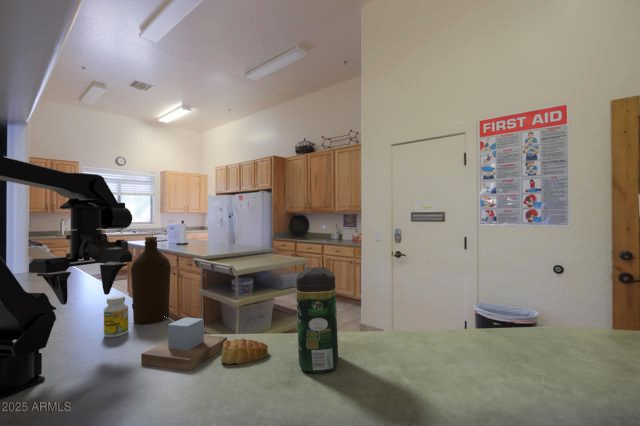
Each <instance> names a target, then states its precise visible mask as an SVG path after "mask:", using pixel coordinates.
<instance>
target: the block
mask: <svg viewBox="0 0 640 426" xmlns="http://www.w3.org/2000/svg"><path fill="white" fill-rule="evenodd" d="M204 323H205V322H204V318H198V317H197V318H195V317H186V316H185V317H183V318H181V319H178V320H175V321H173V322H171V323H168V324H167V341H168V349H177V350H185V351H188V350H190V349H192V348H194V347H195V346H197V345H199V344H201V343H202V342H204V335H205V331H204V330H205V329H204V328H205V327H204V325H205V324H204Z"/></svg>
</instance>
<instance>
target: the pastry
mask: <svg viewBox="0 0 640 426" xmlns="http://www.w3.org/2000/svg"><path fill="white" fill-rule="evenodd" d="M268 348H269V347H268V344H266V343H264V342H262V341H258V340H253V339H245V338H240V339H238V338H233V339H232V340H227V341H225V342H224V343H223V349H222V351H221V357H220V362H221V363H223V364H226V365H233V364H238V365H239V364H244V363H250V362H255V361H259V360H261V359H263V358H265V357H266V356H268V353H269V351H268Z"/></svg>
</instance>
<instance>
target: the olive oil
mask: <svg viewBox="0 0 640 426" xmlns="http://www.w3.org/2000/svg"><path fill="white" fill-rule="evenodd" d="M157 239H158V237H157V236H147V237H144V240H145V241H144V250H143V251H142V253H140V254H139V255H138V256H137V258H136V259H135V260H134V261H132V262H133V263H132V264H131V268H130V279H131V281H130V283H131V284H130V285H131V297H132V303H131V306H132V307H131V308H132V312H133V313H132V317H133V323H134V324H135V325H151V324H155V323H156V324H157V323H159V322H163V321H166V320H168V318H169V317H170V290H171V289H170V288H171V271H172V270H171V268H172V267H171V263H170V261H169V259H168V258H167V256H165V254H163V253H162V252H161V251H160V250H159V248H158V241H157ZM164 316H165V317H164ZM166 317H167V318H166Z"/></svg>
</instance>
